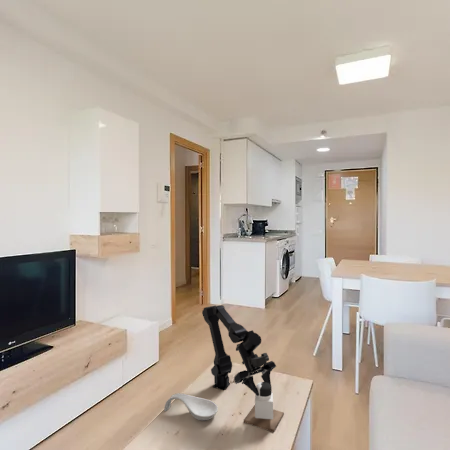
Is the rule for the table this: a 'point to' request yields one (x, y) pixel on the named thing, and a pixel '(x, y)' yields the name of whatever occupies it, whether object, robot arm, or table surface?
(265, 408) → the medicine bottle
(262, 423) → the walnut board
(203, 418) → the spoon rest
